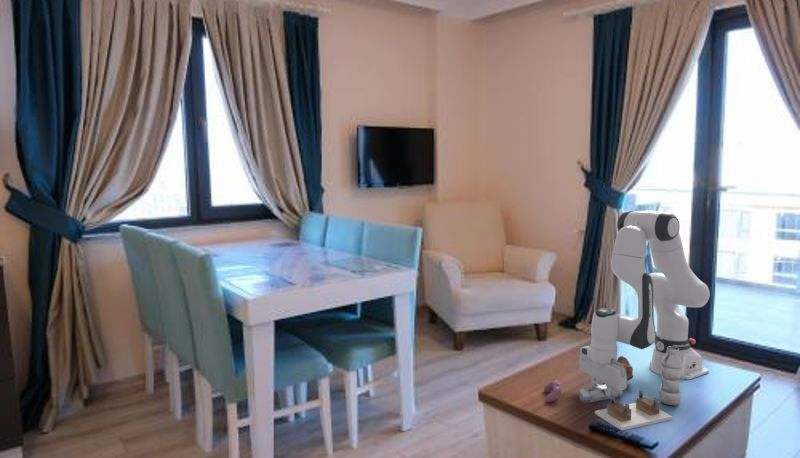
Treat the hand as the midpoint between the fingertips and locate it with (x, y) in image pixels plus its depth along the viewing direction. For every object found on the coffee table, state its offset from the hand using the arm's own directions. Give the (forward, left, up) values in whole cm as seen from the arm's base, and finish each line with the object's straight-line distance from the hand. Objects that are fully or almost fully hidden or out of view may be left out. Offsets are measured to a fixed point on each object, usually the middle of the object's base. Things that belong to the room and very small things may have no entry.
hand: (601, 392), depth 188 cm
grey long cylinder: (0, 0, -2) cm, 2 cm away
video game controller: (+16, -6, -2) cm, 17 cm away
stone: (-15, -7, -2) cm, 17 cm away
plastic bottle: (-19, +12, -2) cm, 23 cm away
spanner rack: (0, +15, -2) cm, 15 cm away
